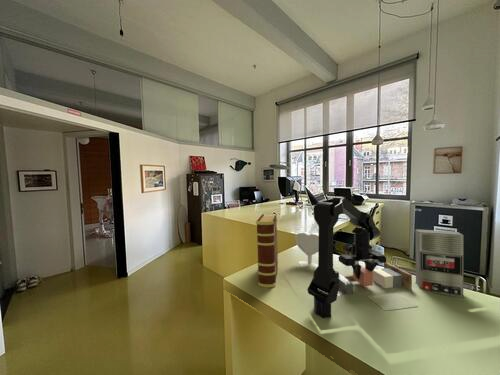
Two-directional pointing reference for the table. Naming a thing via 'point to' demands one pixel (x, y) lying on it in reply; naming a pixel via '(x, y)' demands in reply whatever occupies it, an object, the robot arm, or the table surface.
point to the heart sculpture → (308, 246)
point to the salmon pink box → (364, 277)
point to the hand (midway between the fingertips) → (362, 278)
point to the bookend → (344, 286)
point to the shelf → (405, 275)
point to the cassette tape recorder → (440, 261)
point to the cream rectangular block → (382, 278)
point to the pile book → (391, 301)
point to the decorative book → (267, 250)
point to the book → (394, 277)
